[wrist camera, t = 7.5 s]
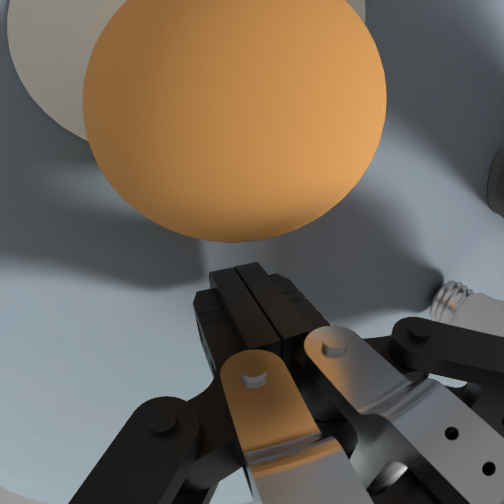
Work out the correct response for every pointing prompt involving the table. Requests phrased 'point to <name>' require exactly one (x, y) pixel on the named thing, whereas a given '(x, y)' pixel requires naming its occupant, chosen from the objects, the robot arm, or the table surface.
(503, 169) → the beverage cup
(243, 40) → the ball
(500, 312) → the light bulb
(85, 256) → the table surface
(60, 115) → the plate
